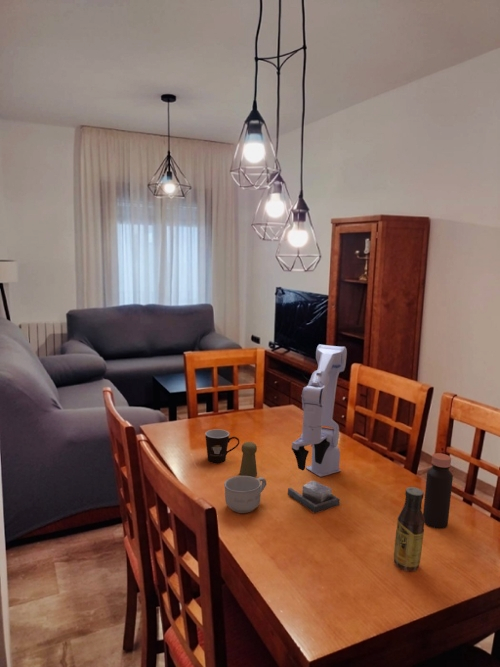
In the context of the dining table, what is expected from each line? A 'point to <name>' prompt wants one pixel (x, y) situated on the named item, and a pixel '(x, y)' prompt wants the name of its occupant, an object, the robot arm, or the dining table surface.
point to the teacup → (243, 493)
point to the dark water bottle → (438, 492)
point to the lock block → (316, 492)
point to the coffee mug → (218, 445)
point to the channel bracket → (312, 506)
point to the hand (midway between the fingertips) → (309, 466)
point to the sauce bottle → (410, 532)
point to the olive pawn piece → (248, 460)
